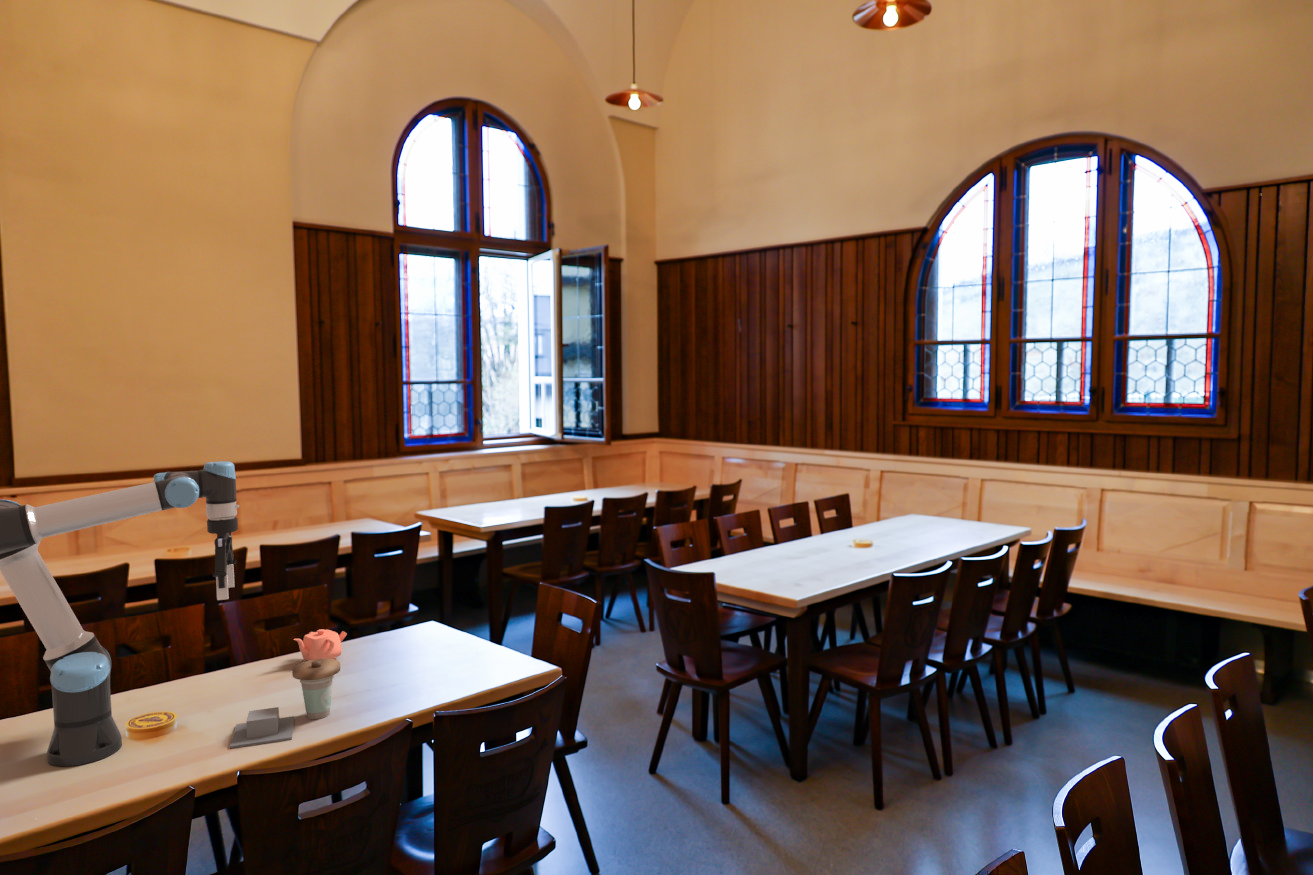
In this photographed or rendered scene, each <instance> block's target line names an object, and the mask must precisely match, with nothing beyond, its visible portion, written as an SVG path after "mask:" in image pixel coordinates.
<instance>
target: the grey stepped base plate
mask: <svg viewBox="0 0 1313 875" xmlns="http://www.w3.org/2000/svg"><path fill="white" fill-rule="evenodd" d="M279 709H280V708H279V706H276V707H269V708H262V709H255V710H249V711H248V714H247V717H246V720H245V721H246V722H243V723H236V724H235V728H234V732H233V734H232V738H231V740H230V741H231V742H230V744H229V749H230V750H232V749H236V748H237V749H238V748H245V747H251V746H258V745H265V744H270V743H271V744H272V743H278V742H284V741H292V739H293V733H294V732H293V731H294V726H295V715H294V716H293V715H292V716H288V717H287V716H286V717H280V710H279Z"/></svg>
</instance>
